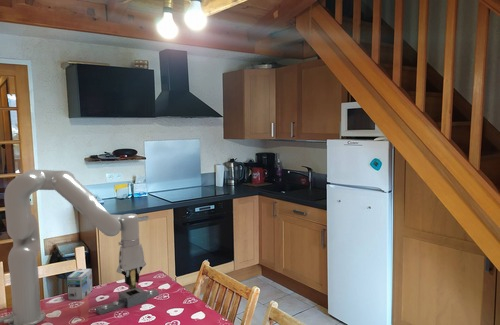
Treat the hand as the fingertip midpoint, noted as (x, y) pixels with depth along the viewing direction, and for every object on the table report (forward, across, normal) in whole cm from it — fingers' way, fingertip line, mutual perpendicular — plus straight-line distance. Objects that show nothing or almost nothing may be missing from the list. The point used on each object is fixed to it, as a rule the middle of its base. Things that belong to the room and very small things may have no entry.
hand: (132, 282), depth 164 cm
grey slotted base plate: (+8, -2, 0) cm, 9 cm away
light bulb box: (+9, -14, +24) cm, 29 cm away
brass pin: (+2, 0, 0) cm, 2 cm away
